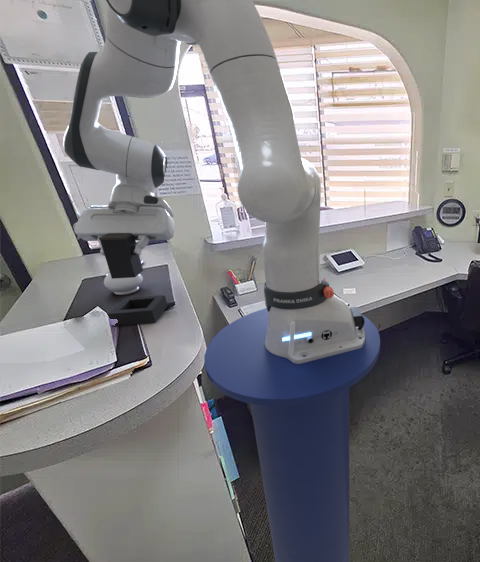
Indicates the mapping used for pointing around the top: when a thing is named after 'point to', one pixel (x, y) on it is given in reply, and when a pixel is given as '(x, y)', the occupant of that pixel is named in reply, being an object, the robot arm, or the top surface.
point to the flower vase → (119, 280)
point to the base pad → (138, 310)
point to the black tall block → (121, 255)
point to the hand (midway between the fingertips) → (120, 254)
